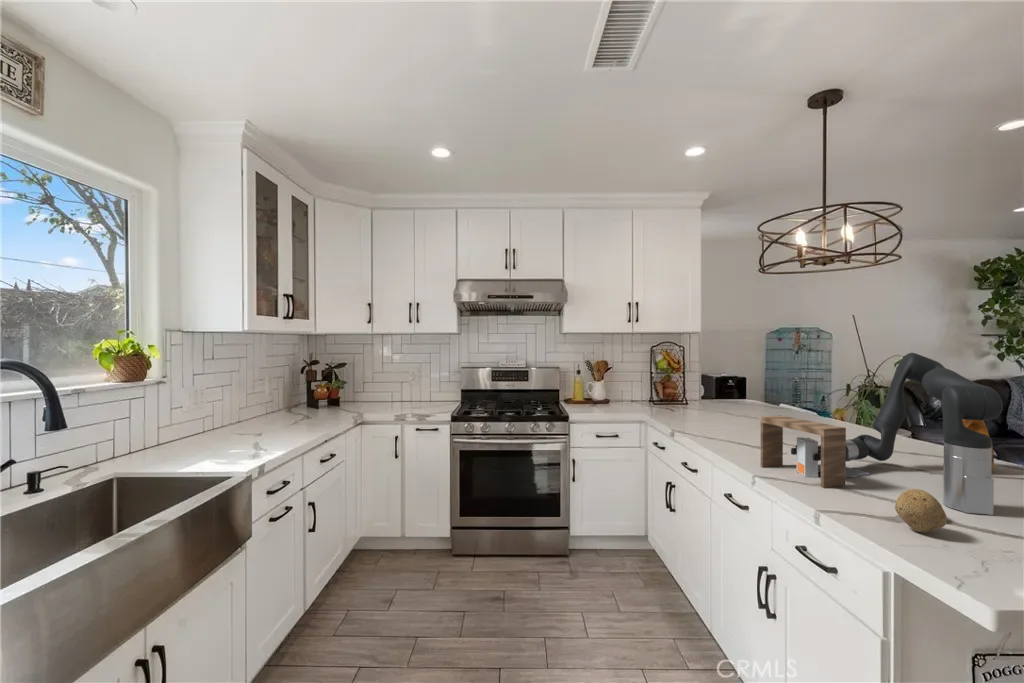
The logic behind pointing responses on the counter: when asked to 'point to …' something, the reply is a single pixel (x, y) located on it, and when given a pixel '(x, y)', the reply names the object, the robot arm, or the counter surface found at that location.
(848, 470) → the slate mat
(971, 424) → the coffee package
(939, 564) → the counter surface
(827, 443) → the walnut shelf
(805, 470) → the skincare box
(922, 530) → the brown potato
